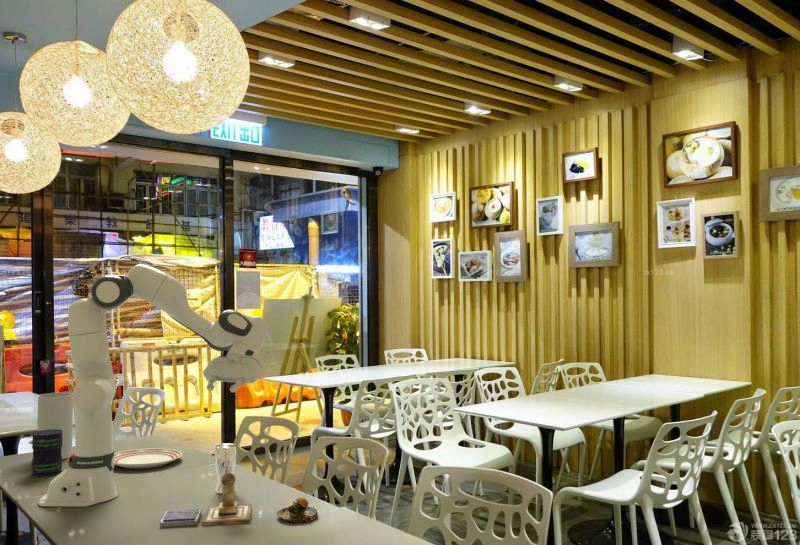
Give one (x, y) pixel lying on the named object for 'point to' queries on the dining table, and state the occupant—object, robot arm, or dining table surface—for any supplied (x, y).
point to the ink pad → (180, 518)
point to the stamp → (228, 496)
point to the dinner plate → (145, 458)
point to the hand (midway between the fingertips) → (220, 390)
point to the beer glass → (224, 462)
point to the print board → (240, 517)
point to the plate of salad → (298, 512)
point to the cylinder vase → (57, 417)
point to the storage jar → (47, 453)
